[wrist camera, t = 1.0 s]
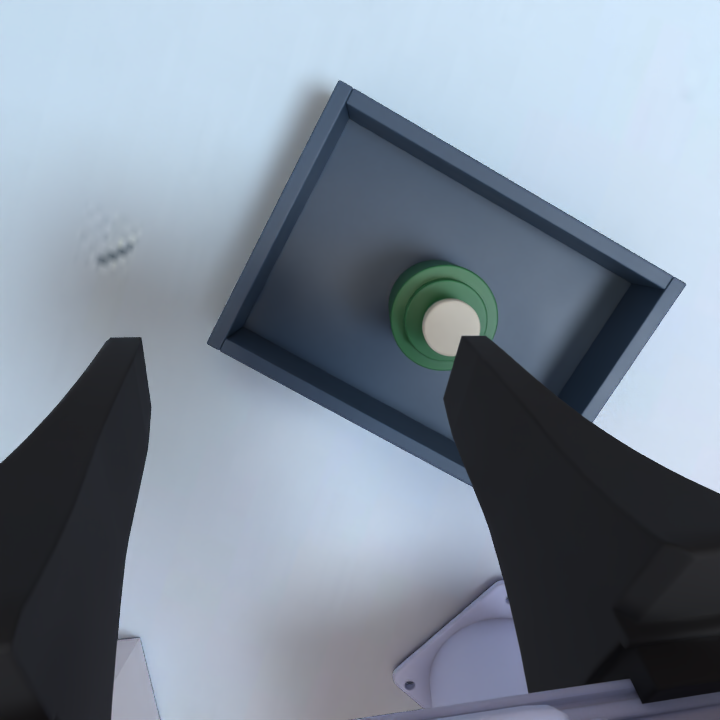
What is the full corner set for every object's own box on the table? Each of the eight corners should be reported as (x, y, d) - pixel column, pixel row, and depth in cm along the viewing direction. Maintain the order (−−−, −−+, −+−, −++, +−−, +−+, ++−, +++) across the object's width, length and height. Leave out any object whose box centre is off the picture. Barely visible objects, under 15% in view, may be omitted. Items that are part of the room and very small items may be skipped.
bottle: (498, 304, 25) (538, 327, 19) (433, 367, 26) (450, 410, 20) (434, 240, 25) (453, 242, 19) (369, 306, 26) (367, 330, 19)
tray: (646, 277, 25) (687, 283, 22) (510, 483, 28) (528, 517, 24) (344, 100, 24) (338, 78, 21) (227, 330, 26) (205, 343, 23)
